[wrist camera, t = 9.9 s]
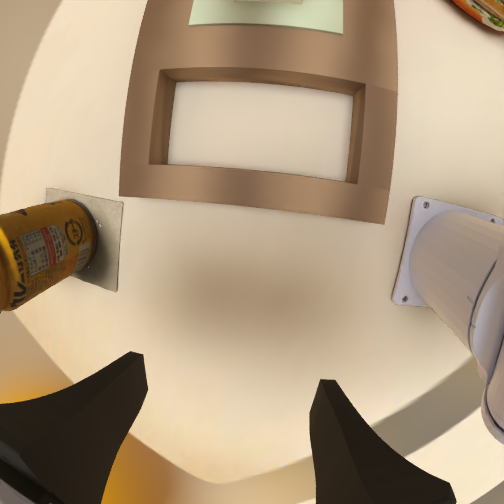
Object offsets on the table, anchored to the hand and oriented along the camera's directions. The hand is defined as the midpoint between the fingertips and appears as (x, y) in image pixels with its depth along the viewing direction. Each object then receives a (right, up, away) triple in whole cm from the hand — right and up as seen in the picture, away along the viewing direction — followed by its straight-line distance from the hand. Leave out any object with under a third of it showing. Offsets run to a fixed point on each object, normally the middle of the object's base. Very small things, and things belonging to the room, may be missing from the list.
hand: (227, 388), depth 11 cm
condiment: (-13, +7, +11) cm, 18 cm away
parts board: (+2, +18, +5) cm, 19 cm away
